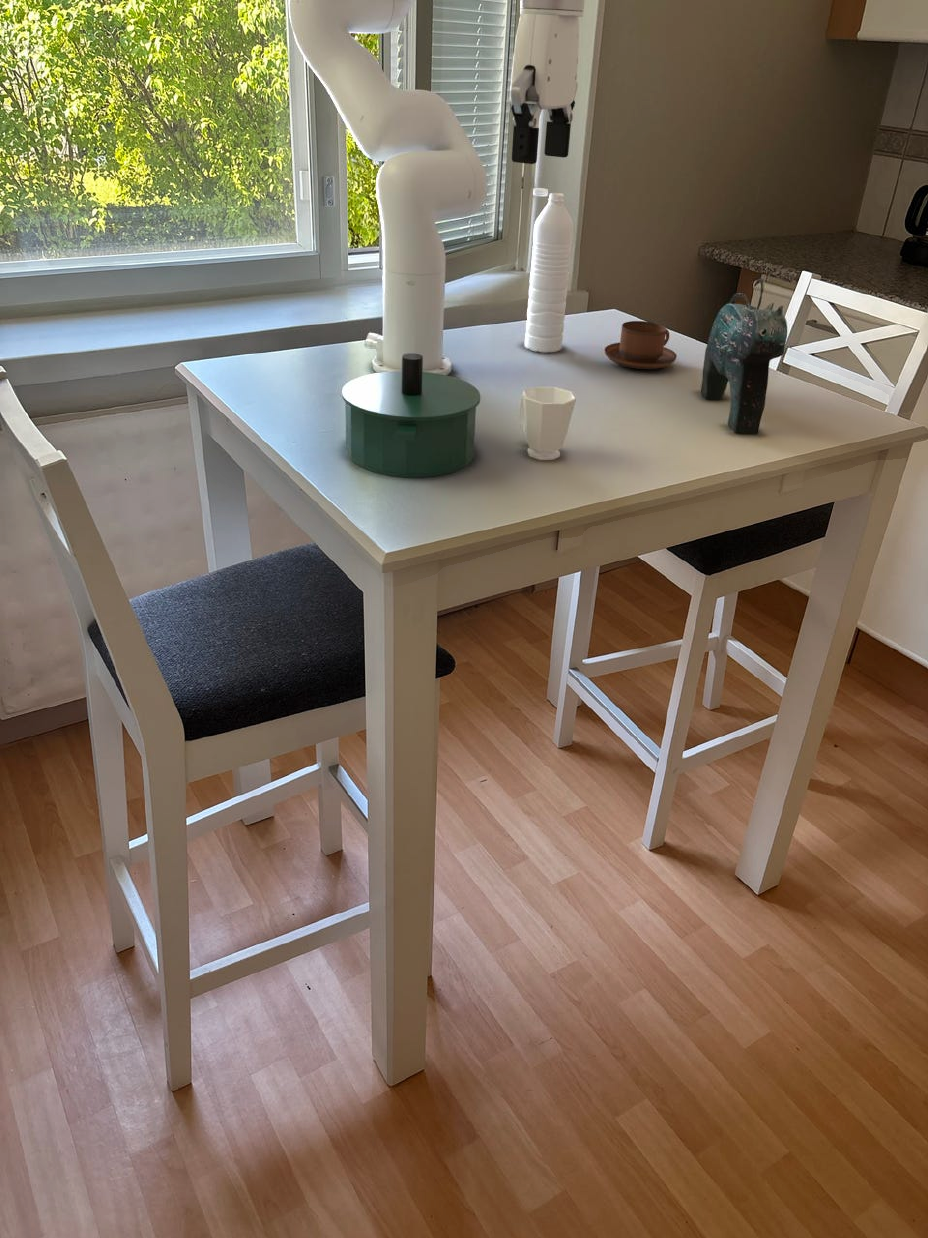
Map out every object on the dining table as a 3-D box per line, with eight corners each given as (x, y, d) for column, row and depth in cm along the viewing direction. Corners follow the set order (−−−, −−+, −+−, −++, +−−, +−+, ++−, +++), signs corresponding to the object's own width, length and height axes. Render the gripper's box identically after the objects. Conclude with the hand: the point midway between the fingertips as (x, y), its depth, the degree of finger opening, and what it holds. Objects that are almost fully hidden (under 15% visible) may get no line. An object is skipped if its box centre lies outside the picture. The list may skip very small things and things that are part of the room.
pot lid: (333, 421, 116) (332, 374, 113) (350, 375, 131) (350, 332, 128) (479, 429, 117) (482, 382, 114) (480, 382, 131) (482, 339, 128)
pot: (336, 482, 118) (335, 423, 114) (356, 419, 137) (356, 366, 133) (472, 489, 118) (475, 430, 114) (474, 425, 137) (477, 372, 133)
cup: (534, 467, 125) (539, 406, 121) (496, 440, 132) (500, 381, 128) (580, 459, 128) (587, 400, 124) (540, 433, 135) (546, 376, 131)
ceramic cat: (769, 439, 138) (801, 293, 127) (724, 438, 137) (753, 292, 127) (725, 392, 154) (751, 260, 144) (686, 391, 154) (708, 258, 143)
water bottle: (569, 350, 170) (585, 195, 157) (539, 355, 167) (553, 197, 153) (538, 337, 176) (551, 186, 163) (509, 341, 173) (520, 188, 160)
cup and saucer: (624, 348, 172) (628, 313, 169) (686, 363, 167) (692, 327, 163) (590, 363, 164) (594, 326, 161) (655, 379, 158) (661, 341, 155)
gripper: (553, 2, 124) (542, 151, 133) (490, -4, 111) (483, 162, 120) (608, 4, 121) (593, 156, 130) (551, -1, 108) (538, 168, 117)
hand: (540, 159), depth 125 cm, fingers open, 9 cm apart
